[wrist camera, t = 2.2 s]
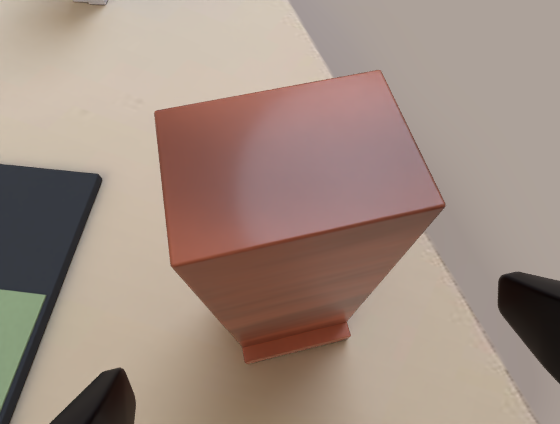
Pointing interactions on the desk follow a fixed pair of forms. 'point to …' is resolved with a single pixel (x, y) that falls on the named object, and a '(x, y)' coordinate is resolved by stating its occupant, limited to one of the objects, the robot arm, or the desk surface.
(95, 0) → the walkman
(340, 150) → the reddish brown square pillar
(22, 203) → the dark blue mat
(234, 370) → the desk surface
